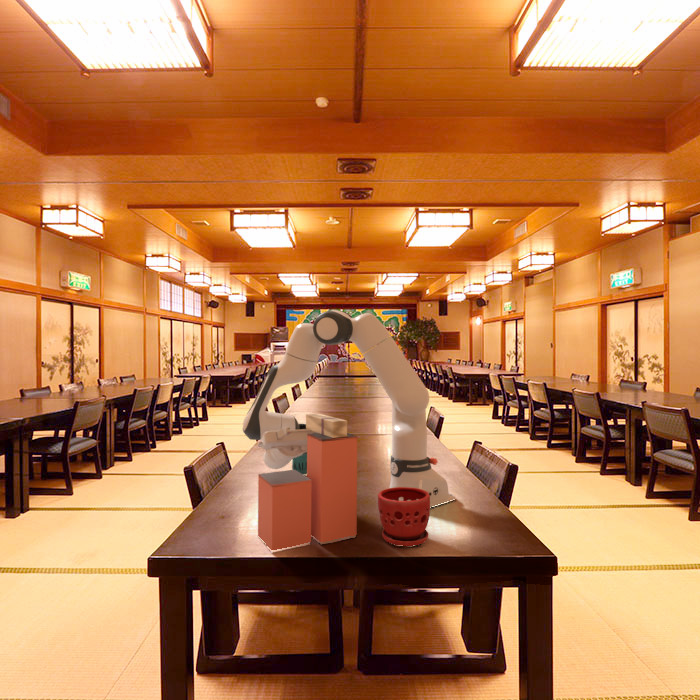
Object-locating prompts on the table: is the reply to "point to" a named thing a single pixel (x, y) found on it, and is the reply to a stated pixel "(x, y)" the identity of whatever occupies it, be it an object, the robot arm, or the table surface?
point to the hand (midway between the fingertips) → (303, 429)
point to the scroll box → (326, 425)
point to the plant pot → (404, 515)
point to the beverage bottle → (300, 459)
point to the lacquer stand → (311, 496)
